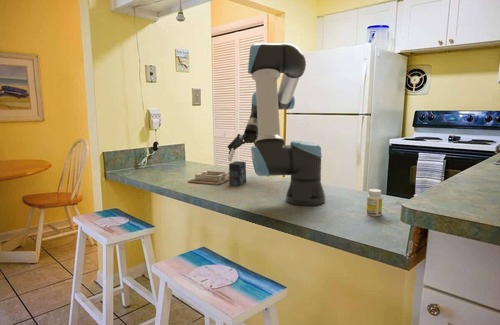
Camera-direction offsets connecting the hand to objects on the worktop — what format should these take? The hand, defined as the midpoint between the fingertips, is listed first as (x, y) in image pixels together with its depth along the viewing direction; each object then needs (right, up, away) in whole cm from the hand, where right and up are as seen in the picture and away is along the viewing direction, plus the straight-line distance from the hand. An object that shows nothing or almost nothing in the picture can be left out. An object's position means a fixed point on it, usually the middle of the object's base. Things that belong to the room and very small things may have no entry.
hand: (241, 160), depth 166 cm
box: (-2, -11, -4) cm, 12 cm away
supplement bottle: (+47, -19, -52) cm, 72 cm away
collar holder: (-15, -10, +5) cm, 19 cm away
